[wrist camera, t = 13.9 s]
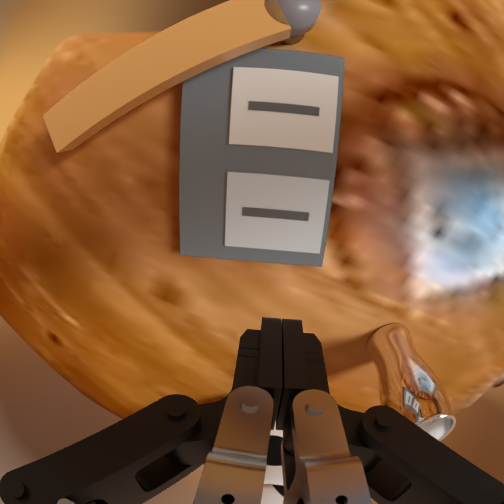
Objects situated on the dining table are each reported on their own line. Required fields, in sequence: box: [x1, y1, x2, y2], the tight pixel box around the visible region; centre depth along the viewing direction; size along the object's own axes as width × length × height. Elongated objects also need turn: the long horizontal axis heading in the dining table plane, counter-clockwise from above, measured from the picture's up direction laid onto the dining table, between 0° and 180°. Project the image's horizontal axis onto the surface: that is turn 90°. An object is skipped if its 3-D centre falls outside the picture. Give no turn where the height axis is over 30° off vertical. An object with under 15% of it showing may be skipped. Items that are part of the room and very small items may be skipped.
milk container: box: [261, 421, 284, 504], centre depth 34 cm, size 17×17×18 cm
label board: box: [179, 48, 344, 267], centre depth 26 cm, size 14×20×2 cm
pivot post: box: [279, 33, 305, 45], centre depth 20 cm, size 3×3×4 cm
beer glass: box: [367, 324, 456, 441], centre depth 28 cm, size 7×7×15 cm
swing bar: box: [43, 0, 321, 153], centre depth 19 cm, size 24×4×2 cm, turn 113°
